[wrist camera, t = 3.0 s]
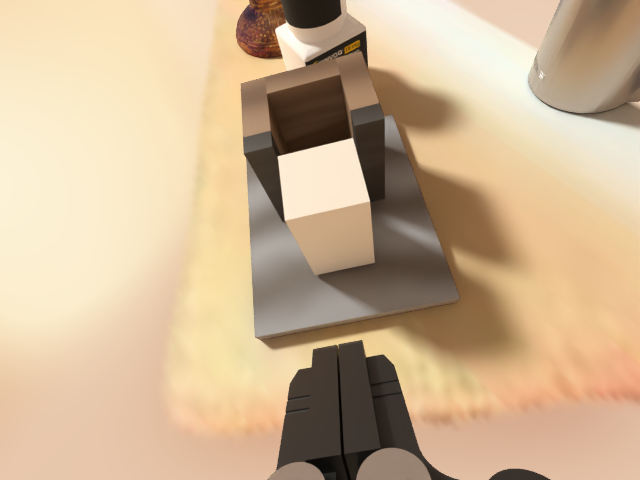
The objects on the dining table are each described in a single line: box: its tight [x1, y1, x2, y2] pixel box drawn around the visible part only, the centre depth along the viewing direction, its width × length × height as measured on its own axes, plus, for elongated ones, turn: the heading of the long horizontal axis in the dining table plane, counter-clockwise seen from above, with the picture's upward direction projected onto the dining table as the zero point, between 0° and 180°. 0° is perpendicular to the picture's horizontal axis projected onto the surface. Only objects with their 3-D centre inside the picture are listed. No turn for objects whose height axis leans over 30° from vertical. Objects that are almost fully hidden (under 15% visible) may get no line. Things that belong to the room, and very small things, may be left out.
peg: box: [278, 138, 375, 275], centre depth 23 cm, size 5×5×9 cm
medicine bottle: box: [275, 0, 368, 71], centre depth 34 cm, size 7×7×12 cm
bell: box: [236, 0, 286, 58], centre depth 43 cm, size 12×12×7 cm
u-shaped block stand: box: [241, 51, 460, 340], centre depth 26 cm, size 20×16×10 cm
